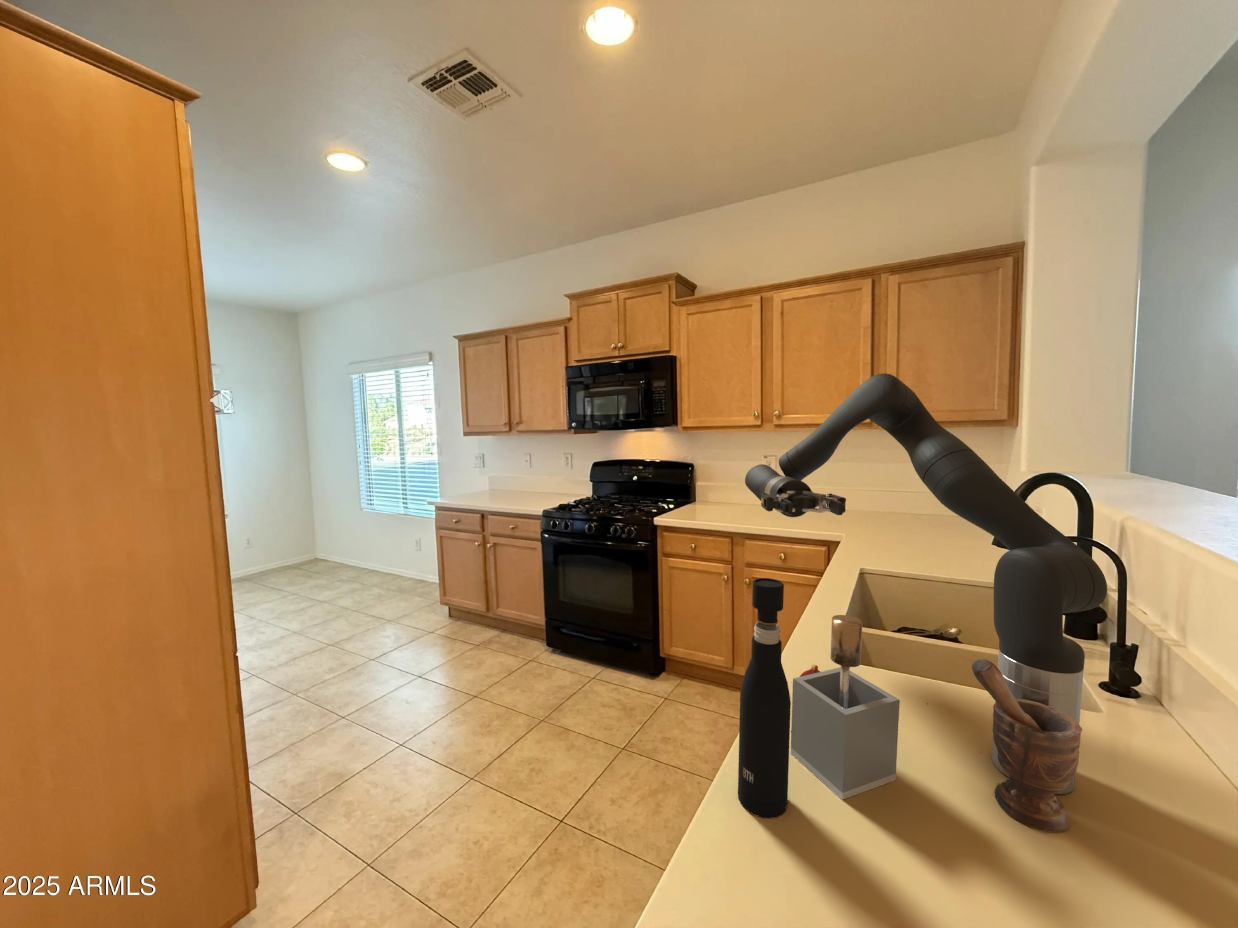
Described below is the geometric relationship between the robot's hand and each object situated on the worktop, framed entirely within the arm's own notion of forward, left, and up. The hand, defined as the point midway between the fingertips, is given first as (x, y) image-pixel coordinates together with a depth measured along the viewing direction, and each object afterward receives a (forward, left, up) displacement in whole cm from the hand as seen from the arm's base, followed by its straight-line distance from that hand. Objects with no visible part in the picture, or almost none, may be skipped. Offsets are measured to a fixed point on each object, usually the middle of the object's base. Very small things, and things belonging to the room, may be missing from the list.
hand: (815, 509), depth 84 cm
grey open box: (+6, +13, -36) cm, 39 cm away
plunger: (+6, +13, -33) cm, 36 cm away
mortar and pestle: (-9, +28, -36) cm, 47 cm away
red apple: (-1, 0, -36) cm, 36 cm away
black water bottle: (+21, +14, -36) cm, 44 cm away
